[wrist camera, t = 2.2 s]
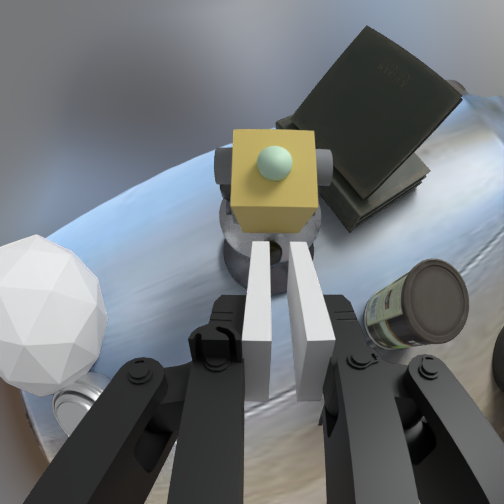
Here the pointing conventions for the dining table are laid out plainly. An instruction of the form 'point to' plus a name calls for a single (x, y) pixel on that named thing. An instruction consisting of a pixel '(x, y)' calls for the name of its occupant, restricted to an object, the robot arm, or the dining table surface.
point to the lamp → (51, 326)
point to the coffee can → (419, 307)
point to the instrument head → (273, 178)
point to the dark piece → (373, 124)
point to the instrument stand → (241, 243)
